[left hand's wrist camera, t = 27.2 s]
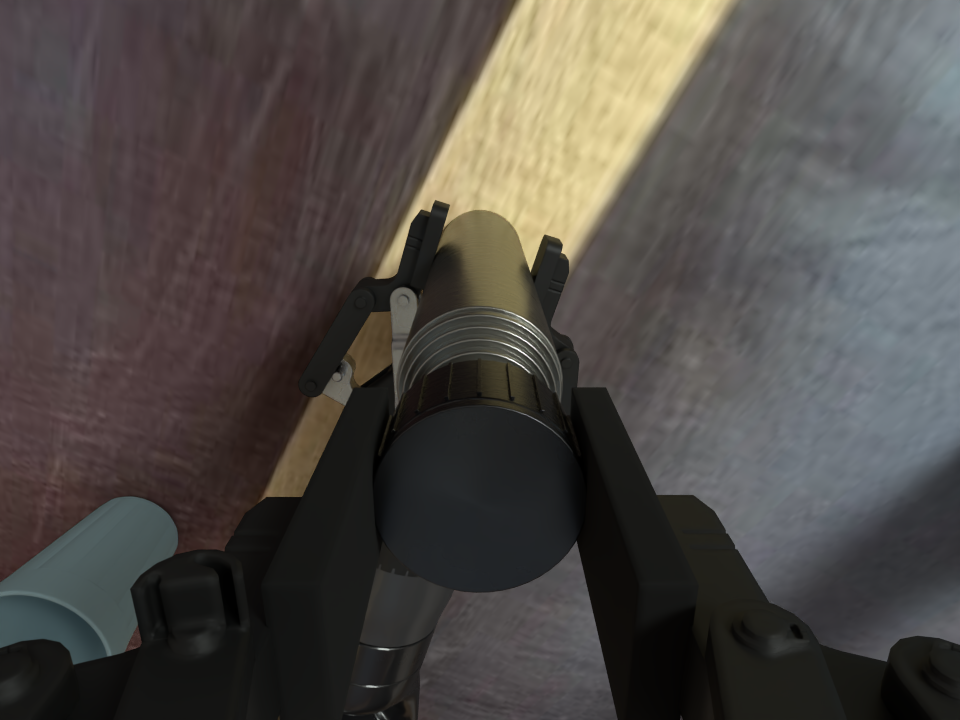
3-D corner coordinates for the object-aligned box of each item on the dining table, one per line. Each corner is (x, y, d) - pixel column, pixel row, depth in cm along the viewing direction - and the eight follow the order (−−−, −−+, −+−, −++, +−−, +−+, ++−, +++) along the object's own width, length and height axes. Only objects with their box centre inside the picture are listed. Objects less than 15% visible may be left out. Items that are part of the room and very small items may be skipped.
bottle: (456, 196, 35) (412, 342, 12) (534, 229, 36) (633, 427, 13) (426, 273, 37) (335, 536, 14) (501, 303, 37) (536, 604, 14)
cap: (413, 332, 14) (399, 374, 12) (601, 386, 14) (624, 438, 12) (365, 497, 15) (345, 565, 13) (538, 543, 16) (548, 616, 13)
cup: (55, 491, 41) (-75, 607, 32) (170, 469, 41) (73, 579, 31) (103, 587, 44) (-4, 721, 34) (212, 568, 44) (135, 698, 34)
